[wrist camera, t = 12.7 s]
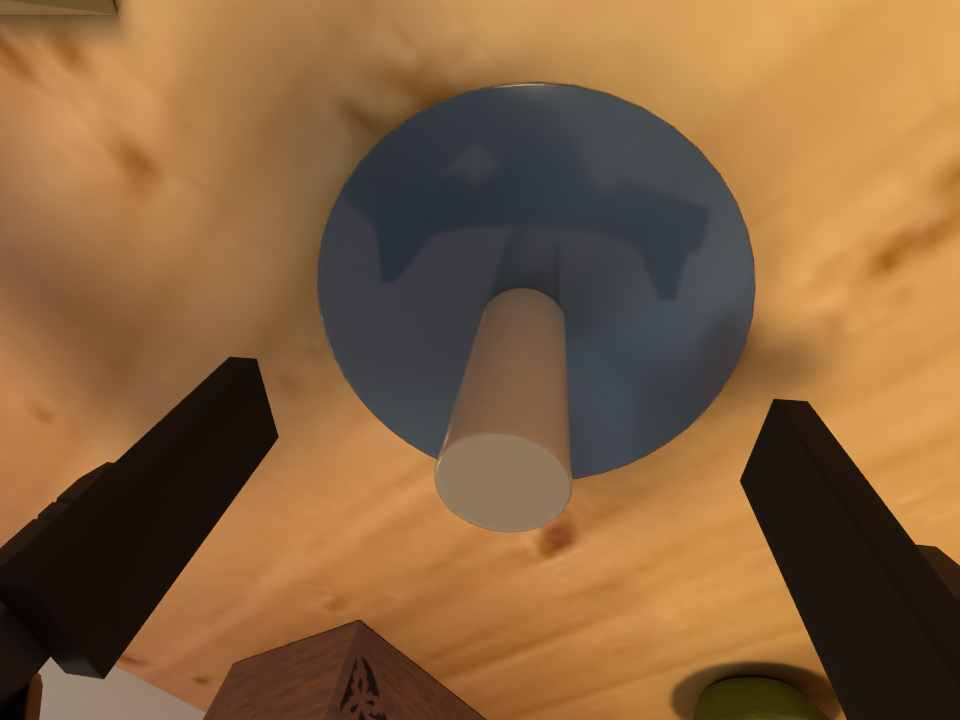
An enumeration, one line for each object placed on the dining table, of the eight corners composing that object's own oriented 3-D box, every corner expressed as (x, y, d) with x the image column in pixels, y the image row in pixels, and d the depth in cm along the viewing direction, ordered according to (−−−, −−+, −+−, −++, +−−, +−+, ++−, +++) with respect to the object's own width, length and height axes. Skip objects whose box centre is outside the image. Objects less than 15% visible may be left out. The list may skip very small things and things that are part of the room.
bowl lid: (355, 446, 24) (258, 630, 16) (295, 77, 16) (34, 85, 8) (686, 480, 22) (757, 705, 14) (814, 84, 14) (1145, 105, 6)
